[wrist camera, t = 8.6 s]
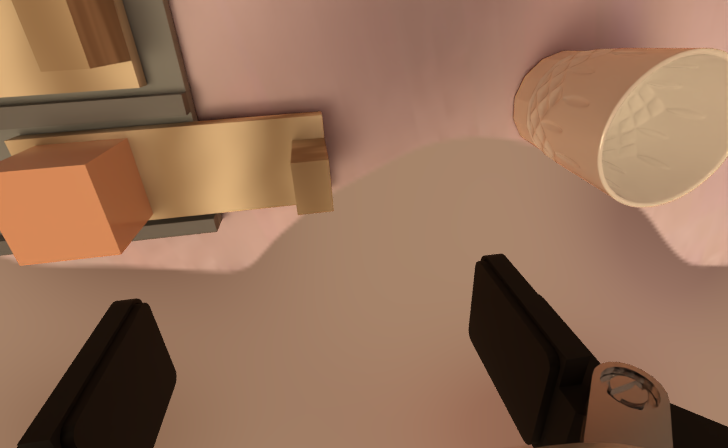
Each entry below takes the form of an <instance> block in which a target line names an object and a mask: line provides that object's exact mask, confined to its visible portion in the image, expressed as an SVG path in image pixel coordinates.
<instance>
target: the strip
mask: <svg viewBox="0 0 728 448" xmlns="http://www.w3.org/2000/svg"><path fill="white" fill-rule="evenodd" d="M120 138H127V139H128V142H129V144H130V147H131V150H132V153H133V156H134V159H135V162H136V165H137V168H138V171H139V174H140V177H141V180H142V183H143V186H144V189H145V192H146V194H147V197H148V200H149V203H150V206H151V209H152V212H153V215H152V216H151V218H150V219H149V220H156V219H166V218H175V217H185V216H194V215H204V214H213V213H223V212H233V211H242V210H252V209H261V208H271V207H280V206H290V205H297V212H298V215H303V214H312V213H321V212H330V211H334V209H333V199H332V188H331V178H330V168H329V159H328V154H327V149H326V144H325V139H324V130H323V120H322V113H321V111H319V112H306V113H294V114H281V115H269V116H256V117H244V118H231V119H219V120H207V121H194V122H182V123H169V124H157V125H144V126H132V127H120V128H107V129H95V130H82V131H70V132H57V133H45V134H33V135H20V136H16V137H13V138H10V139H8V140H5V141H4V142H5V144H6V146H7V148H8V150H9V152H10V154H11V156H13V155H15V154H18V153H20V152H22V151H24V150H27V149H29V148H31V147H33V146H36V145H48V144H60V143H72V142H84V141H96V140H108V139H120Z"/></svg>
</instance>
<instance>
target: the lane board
mask: <svg viewBox="0 0 728 448" xmlns="http://www.w3.org/2000/svg"><path fill="white" fill-rule="evenodd" d="M122 1H123V5H124V8H125V11H126V15H127V18H128V22H129V25H130V28H131V32H132V35H133V38H134V42H135V45H136V49H137V52H138V55H139V59H140V62H141V65H142V69H143V72H144V76H145V79H146V82H147V85H146V86H143V87H140V88H130V89H115V90H101V91H87V92H73V93H59V94H45V95H30V96H16V97H2V98H0V161H2V160H4V159H6V158H9V157H11V154H10V152H9V150H8V148H7V146H6V144H5V142H4V141H5V140H8V139H10V138H13V137H16V136H20V135H33V134H45V133H57V132H70V131H82V130H95V129H107V128H120V127H132V126H144V125H157V124H169V123H182V122H194V121H198V119H197V115H196V111H195V107H194V103H193V99H192V95H191V91H190V87H189V83H188V79H187V75H186V71H185V67H184V63H183V59H182V55H181V51H180V47H179V43H178V39H177V35H176V31H175V27H174V23H173V19H172V15H171V11H170V7H169V3H168V0H122ZM221 221H222V216H221V213H213V214H204V215H194V216H185V217H175V218H166V219H156V220H148V221H147V223H146V224H145V225H144V226H143V228H142V229H141V230H140V231H139V233H138V234H137V235H136V236H135V238H134V239H133V240H132V241H138V240H147V239H156V238H165V237H174V236H183V235H192V234H201V233H211V232H217V231H218V228H219V226H220V223H221ZM10 254H13V253H12V251H11V249H10V247H9V245H8V244H7V242H6V240H5V238H4V236H3V235H2V233H1V231H0V256H1V255H10Z"/></svg>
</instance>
